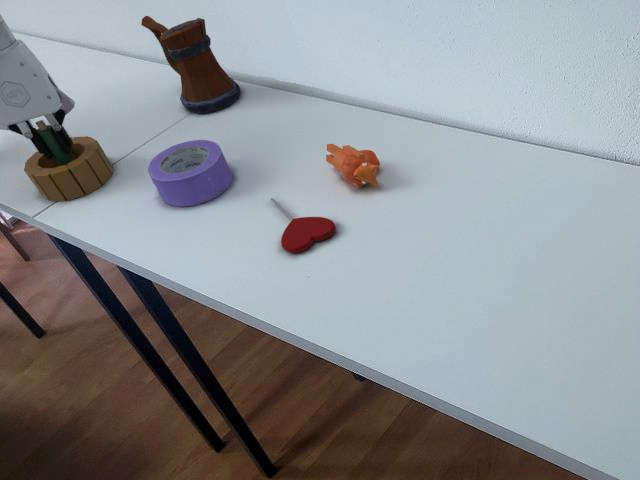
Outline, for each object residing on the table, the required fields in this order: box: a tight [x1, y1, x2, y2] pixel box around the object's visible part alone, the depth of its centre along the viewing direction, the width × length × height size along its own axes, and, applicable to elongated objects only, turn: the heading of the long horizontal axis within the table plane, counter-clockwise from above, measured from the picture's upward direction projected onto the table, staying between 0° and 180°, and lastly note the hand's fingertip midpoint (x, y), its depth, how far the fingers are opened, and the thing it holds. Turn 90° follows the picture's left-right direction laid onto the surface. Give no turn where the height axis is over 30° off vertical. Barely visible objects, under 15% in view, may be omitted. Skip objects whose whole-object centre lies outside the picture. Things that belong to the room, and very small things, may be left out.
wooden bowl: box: [23, 136, 114, 202], centre depth 109 cm, size 12×12×5 cm
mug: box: [141, 15, 241, 115], centre depth 122 cm, size 18×12×15 cm, turn 53°
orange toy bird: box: [325, 143, 381, 188], centre depth 99 cm, size 5×8×12 cm
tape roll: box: [147, 139, 233, 208], centre depth 103 cm, size 12×12×5 cm
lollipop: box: [270, 197, 336, 254], centre depth 94 cm, size 8×1×15 cm
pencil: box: [35, 119, 73, 166], centre depth 107 cm, size 2×2×10 cm
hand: (59, 151), depth 107 cm, fingers closed on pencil, 2 cm apart
